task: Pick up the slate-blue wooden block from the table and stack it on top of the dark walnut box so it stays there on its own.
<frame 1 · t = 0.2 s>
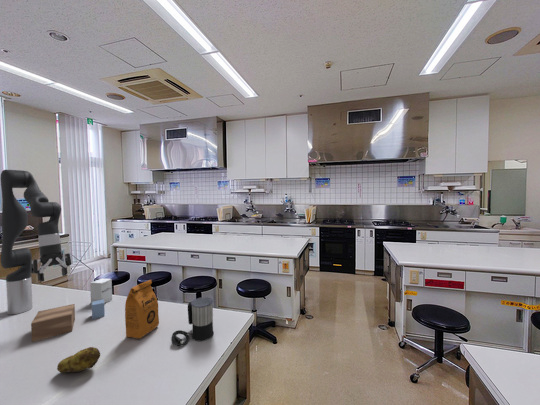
hand: (53, 278, 111), 23 cm above the table, tool pointing down, fingers open, 8 cm apart
coffee package: (143, 332, 106), on the table
milk frother: (193, 338, 100), on the table
supplement box: (101, 302, 136), on the table
slate block: (98, 315, 121), on the table
potato: (80, 371, 82), on the table
walnut box: (55, 330, 108), on the table
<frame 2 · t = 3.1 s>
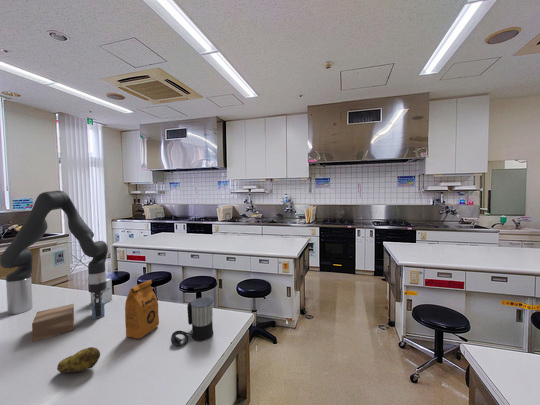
hand: (98, 313, 121), 1 cm above the table, tool pointing down, fingers closed on slate block, 5 cm apart
slate block: (98, 315, 121), on the table, touching gripper
everything else where it was.
when the fingers open (10 cm above the table, at t = 8.2 s): slate block drops 2 cm, resting on walnut box.
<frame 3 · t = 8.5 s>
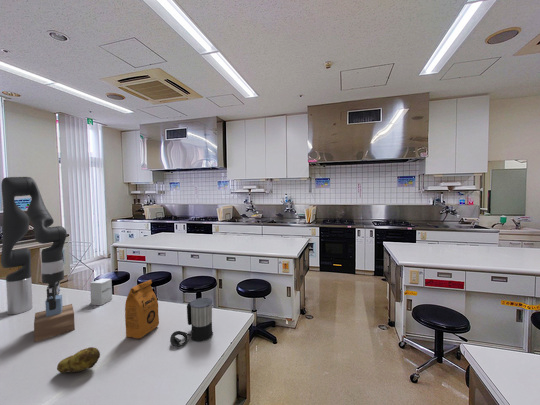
hand: (54, 306, 108), 11 cm above the table, tool pointing down, fingers open, 7 cm apart
slate block: (54, 312, 108), point 8 cm above the table, touching walnut box
walnut box: (55, 330, 108), on the table, touching slate block
everything else where it was.
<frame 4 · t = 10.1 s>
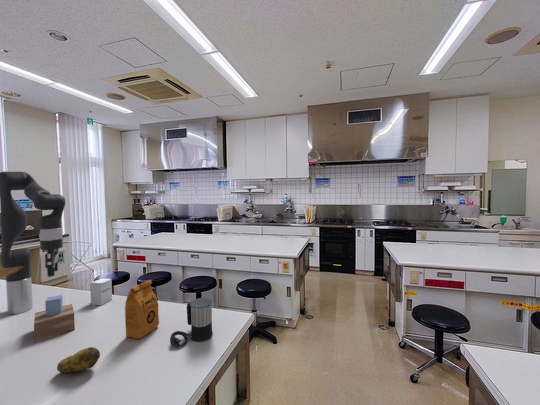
hand: (52, 273, 108), 26 cm above the table, tool pointing down, fingers open, 8 cm apart
slate block: (54, 312, 108), point 8 cm above the table
walnut box: (55, 330, 108), on the table
everything else where it was.
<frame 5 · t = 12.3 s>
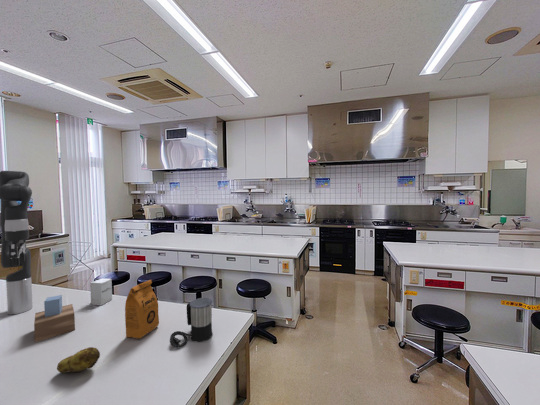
hand: (18, 264, 108), 30 cm above the table, tool pointing down, fingers open, 8 cm apart
slate block: (53, 313, 108), point 8 cm above the table, touching walnut box
walnut box: (55, 330, 108), on the table, touching slate block
everything else where it was.
at the end: slate block inside the target area on the walnut box (0.3 cm from its centre), point 8.0 cm above the walnut box's base; slate block tilted 0°; the gripper is holding nothing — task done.
